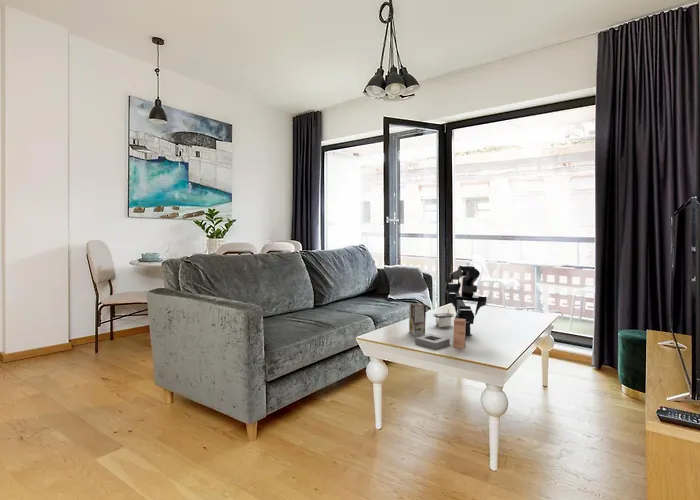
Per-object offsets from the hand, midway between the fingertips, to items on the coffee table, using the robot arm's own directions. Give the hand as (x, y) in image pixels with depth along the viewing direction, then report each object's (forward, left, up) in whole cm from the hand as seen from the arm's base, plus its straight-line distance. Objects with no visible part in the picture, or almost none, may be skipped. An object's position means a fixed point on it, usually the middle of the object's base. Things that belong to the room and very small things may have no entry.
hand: (466, 314), depth 199 cm
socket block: (-5, -17, -14) cm, 23 cm away
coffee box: (-24, -12, -15) cm, 30 cm away
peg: (+3, -7, -14) cm, 17 cm away
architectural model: (-32, +13, -15) cm, 37 cm away
